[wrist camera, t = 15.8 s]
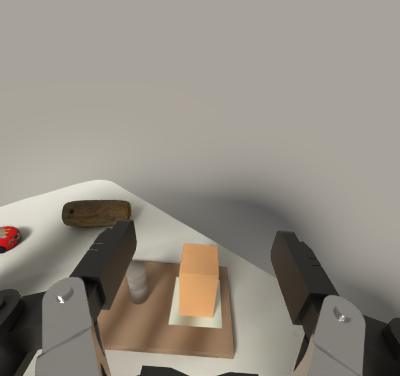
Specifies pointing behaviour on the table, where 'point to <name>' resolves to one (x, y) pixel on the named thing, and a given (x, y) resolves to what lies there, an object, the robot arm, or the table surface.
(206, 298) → the tall wooden pillar
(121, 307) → the board
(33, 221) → the table surface
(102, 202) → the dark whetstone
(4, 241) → the race car
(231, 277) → the table surface
